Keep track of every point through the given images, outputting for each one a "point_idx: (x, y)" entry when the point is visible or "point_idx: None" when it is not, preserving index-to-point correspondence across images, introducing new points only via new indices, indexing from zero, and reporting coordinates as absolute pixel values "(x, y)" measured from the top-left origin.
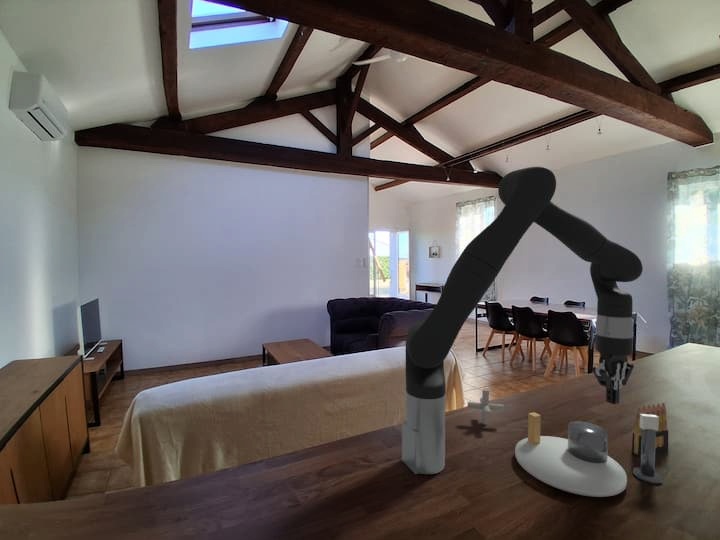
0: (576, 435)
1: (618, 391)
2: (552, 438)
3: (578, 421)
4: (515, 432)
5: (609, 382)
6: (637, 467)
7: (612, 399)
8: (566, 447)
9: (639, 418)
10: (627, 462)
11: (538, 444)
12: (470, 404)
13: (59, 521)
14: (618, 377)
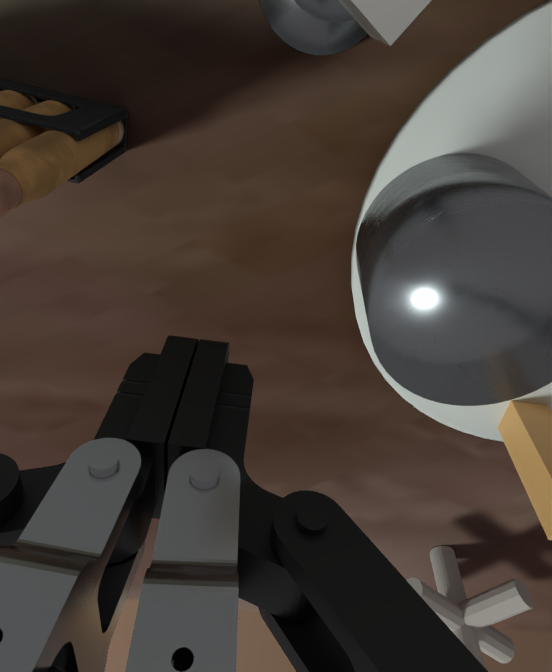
0: None
1: (152, 422)
2: None
3: (410, 388)
4: (417, 480)
5: (368, 587)
6: (300, 45)
7: (244, 385)
8: None
9: (11, 181)
10: (253, 117)
11: (538, 395)
12: (509, 649)
13: None
14: (165, 624)
